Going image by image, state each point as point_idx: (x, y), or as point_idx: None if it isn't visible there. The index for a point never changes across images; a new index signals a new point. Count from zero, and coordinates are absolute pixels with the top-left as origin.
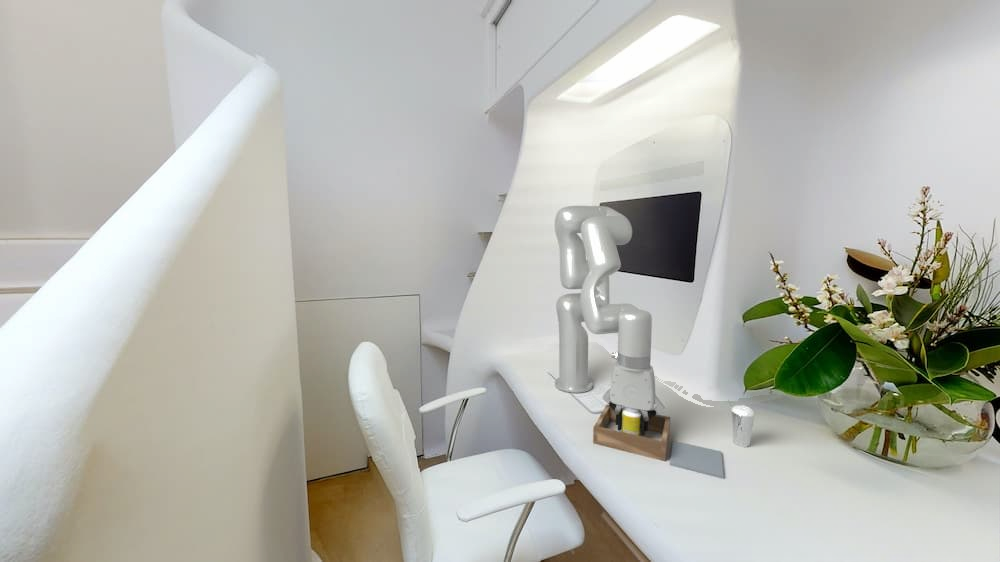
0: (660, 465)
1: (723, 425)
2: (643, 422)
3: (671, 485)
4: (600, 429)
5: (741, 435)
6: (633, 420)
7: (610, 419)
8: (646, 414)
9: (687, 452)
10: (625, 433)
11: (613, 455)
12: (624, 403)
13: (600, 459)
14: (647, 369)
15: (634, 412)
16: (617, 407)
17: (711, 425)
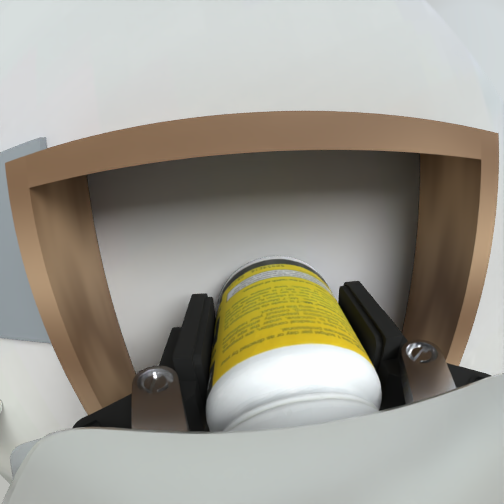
0: (77, 103)
1: None
2: (179, 348)
3: (40, 10)
4: (465, 126)
5: None
6: (264, 330)
7: None
8: (143, 411)
9: (15, 274)
10: (293, 134)
11: (317, 54)
12: (432, 433)
13: (360, 2)
14: None
15: (267, 404)
16: (441, 383)
17: None
